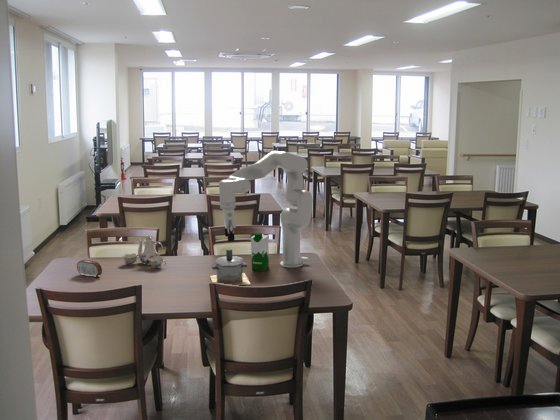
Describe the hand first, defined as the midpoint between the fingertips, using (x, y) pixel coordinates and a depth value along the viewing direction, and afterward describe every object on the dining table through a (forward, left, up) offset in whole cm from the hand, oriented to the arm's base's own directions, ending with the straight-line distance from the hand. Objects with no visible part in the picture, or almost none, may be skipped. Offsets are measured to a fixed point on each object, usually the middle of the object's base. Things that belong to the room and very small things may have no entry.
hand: (229, 238), depth 288 cm
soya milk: (-18, -17, -22) cm, 33 cm away
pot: (+1, 0, -22) cm, 22 cm away
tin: (+71, -27, -22) cm, 79 cm away
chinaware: (+41, -41, -22) cm, 62 cm away
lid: (+1, 0, -12) cm, 12 cm away
